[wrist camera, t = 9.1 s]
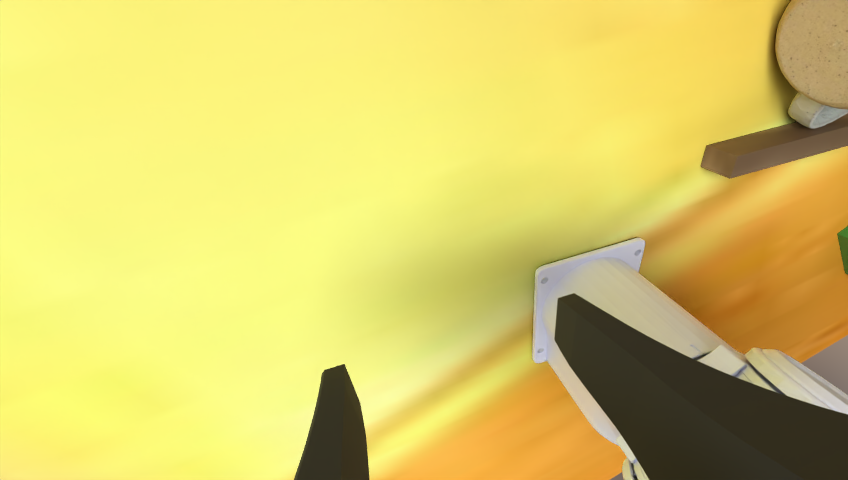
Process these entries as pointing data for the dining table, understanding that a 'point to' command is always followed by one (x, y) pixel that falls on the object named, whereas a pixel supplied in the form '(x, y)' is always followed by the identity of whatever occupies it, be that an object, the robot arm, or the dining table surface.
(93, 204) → the dining table surface
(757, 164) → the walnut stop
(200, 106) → the dining table surface
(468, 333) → the dining table surface
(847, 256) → the hardback book
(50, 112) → the dining table surface
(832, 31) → the ceramic mug
